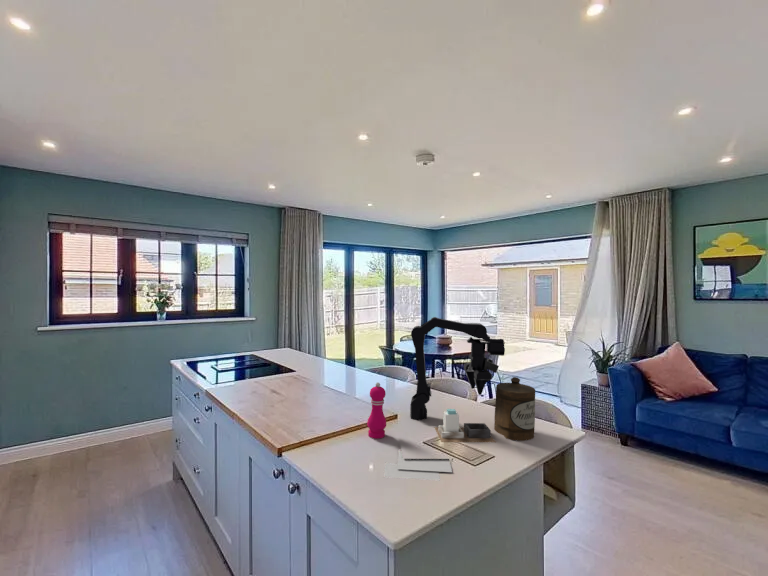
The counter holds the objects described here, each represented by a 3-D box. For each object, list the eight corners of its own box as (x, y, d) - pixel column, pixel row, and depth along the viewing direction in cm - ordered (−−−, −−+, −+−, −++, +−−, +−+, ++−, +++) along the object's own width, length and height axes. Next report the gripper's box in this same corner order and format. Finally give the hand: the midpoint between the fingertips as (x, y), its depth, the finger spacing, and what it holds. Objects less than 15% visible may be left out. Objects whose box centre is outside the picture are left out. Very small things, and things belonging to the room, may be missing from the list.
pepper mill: (384, 440, 137) (385, 385, 137) (364, 438, 138) (366, 384, 138) (387, 432, 144) (389, 380, 144) (369, 430, 145) (370, 379, 145)
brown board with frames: (441, 444, 134) (441, 433, 134) (434, 429, 148) (434, 419, 148) (496, 445, 135) (496, 433, 135) (483, 430, 149) (484, 420, 149)
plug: (445, 436, 139) (445, 411, 139) (443, 432, 143) (443, 408, 143) (458, 436, 139) (459, 411, 139) (456, 432, 143) (456, 408, 143)
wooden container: (521, 444, 136) (522, 384, 136) (486, 431, 148) (488, 376, 147) (541, 435, 146) (543, 378, 145) (507, 423, 157) (509, 371, 157)
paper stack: (456, 491, 104) (456, 488, 104) (366, 486, 106) (366, 483, 106) (447, 454, 127) (447, 452, 127) (374, 450, 129) (374, 448, 129)
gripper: (505, 359, 147) (503, 398, 147) (488, 350, 165) (487, 385, 165) (477, 358, 146) (476, 398, 146) (464, 349, 164) (462, 385, 165)
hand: (476, 391), depth 155 cm, fingers open, 9 cm apart
